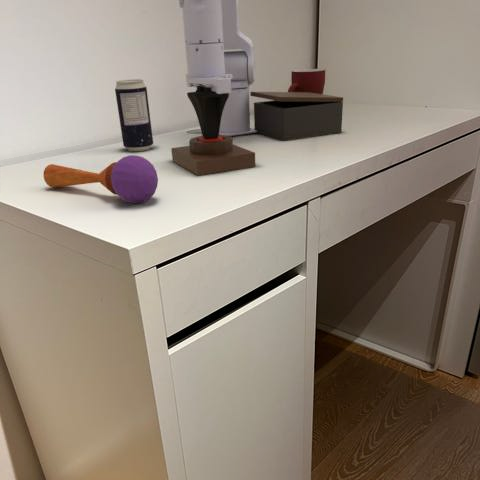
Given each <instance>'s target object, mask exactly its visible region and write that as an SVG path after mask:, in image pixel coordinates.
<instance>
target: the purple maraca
mask: <svg viewBox="0 0 480 480" xmlns="http://www.w3.org/2000/svg"><path fill="white" fill-rule="evenodd" d="M43 181H44V182H45V184H46V185H47V186H49V187H50V188H53V189H54V188H62V187H63V188H64V187H70V186H80V185H88V184H96V183H99V184H100V185H102V186H103V187H104V188H105V189H107V190H108V191H109V192H110V193H112V194H113V195H116V196H118V197H120V198H121V199H122V200H124V201H125V202H126V203H133V204H141V203H143V202H146V201H147V200H150V199H151V198H152V197H153V196H154V195H155V193H156V191H157V189H158V185H159V184H158V183H159V177H158V172H157V170H156V167H155V165H154V164H152V163H151V162H150V160H148V159H146V158H145V157H143V156H140V155H135V154H133V155H126V156H123V157H122V158H120V159H119V160H117V161H115V162H112V163H110V164H109V165H107V166H106V167H105V168H104V169H103V170H101V171H100V172H99V173H98V172H92V171H88V170H83V169H77V168H73V167H68V166H63V165H58V164H54V163H51V164H48V165H47V166H45V168H44V170H43Z"/></svg>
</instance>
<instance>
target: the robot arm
mask: <svg viewBox="0 0 480 480" xmlns="http://www.w3.org/2000/svg"><path fill="white" fill-rule="evenodd" d="M178 4H179V7H180V9H182V21H183V29H184V30H183V32H184V33H183V34H184V43H185V44H184V45H185V56H186V66H187V68H186V69H187V73H186V74H185V80H186V81H185V82H186V87H188V88H196V89H195V91H189V92H187V93H186V95H187V98H188V99H189V101H190V104H191V106H192V107H193V110H194V111H195V114H196V118H197V121H198V124H199V128H200V132H201V136H203V138H204V139H206V140H207V139H215V138H218V136H219V135H226V136H230V137H233V136H241V135H246V134H247V135H249V134H256V133H257V132H258V130H255V128H252V127H251V113H250V111H251V110H250V86H251V85H253V84H254V82H255V81H256V54H255V45H254V44H253V41H252V40H251V39H250V38H249V37H248V36H246V35H245V34H244V33H243V32H242V31H241V30H240V13H239V10H240V9H239V0H178Z"/></svg>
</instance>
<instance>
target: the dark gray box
mask: <svg viewBox="0 0 480 480" xmlns="http://www.w3.org/2000/svg"><path fill="white" fill-rule="evenodd" d="M343 108H344V101H343V102H280V101H275V100H265V101H257V102H253V121H254V124H253V125H254V126H253V127H254V129H255V130H258V132H257V133H258V134H261V135H264V136H267V137H270V138H274V139H277V140H280V141H283V142H285V141H291V140H292V141H293V140H298V139H307V138H313V137H321V136H326V135H327V136H328V135H333V134H341V133H342V131H343V130H342V127H343V126H342V125H343V111H344V110H343Z"/></svg>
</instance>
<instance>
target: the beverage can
mask: <svg viewBox="0 0 480 480" xmlns="http://www.w3.org/2000/svg"><path fill="white" fill-rule="evenodd" d="M115 83H116V84H115V88H114V92H115V98H116V105H117V111H118V112H117V113H118V118H119V126H120V131H121V132H120V133H121V138H122V145H123V147H124V148H126V149H127V151H129V152H143V151H148V150H150V149H151V147H152V146H153V144H154V138H153V129H152V122H151V114H150V104H149V97H148V96H149V95H148V90H147V85H146V84H145V83H144V79H140V78H136V79H121V80H116V81H115Z"/></svg>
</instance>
